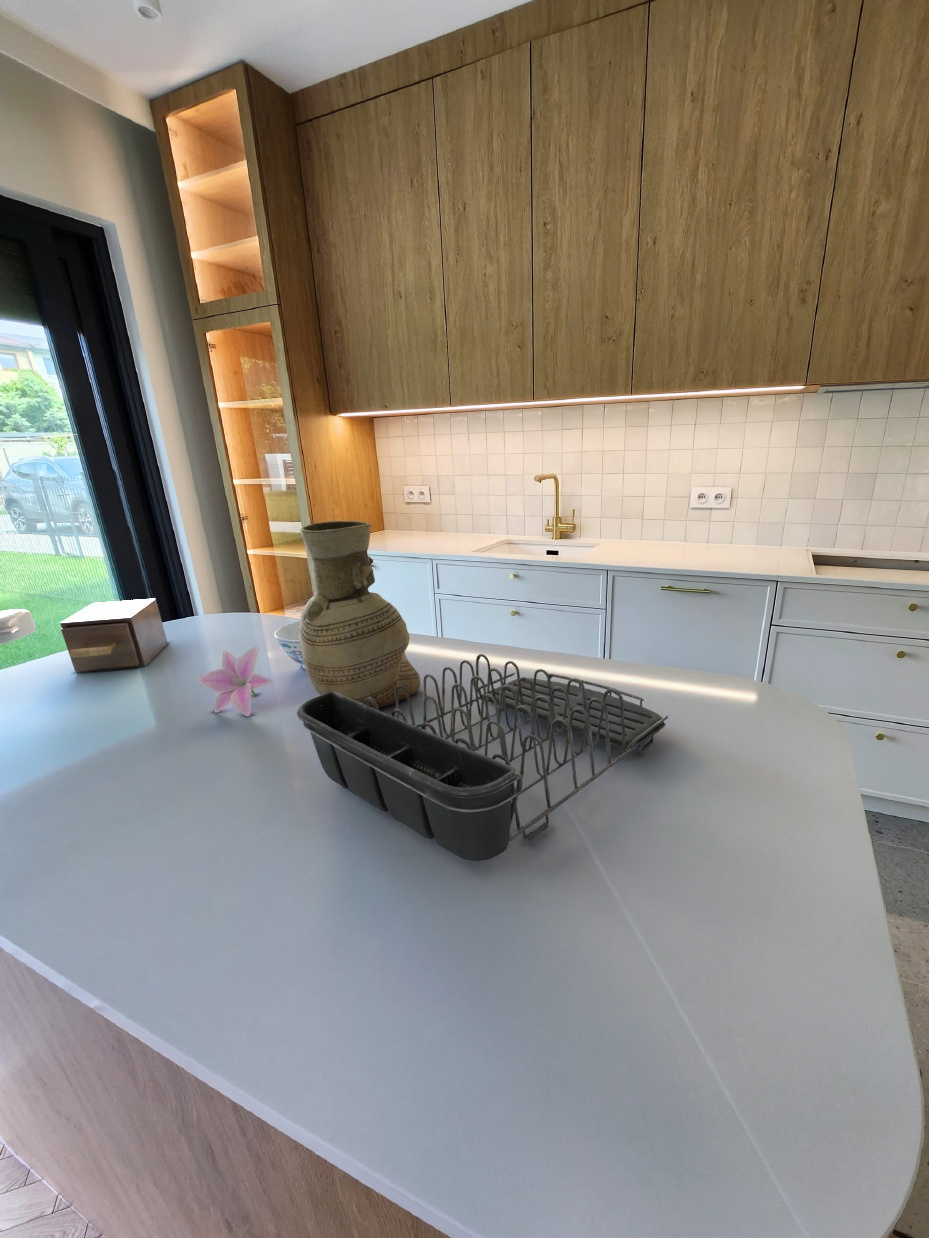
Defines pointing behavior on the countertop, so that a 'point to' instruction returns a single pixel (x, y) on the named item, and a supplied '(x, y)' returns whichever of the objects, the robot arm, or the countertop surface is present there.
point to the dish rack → (468, 753)
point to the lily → (235, 681)
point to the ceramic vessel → (352, 621)
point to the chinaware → (290, 641)
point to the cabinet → (140, 622)
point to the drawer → (100, 646)
